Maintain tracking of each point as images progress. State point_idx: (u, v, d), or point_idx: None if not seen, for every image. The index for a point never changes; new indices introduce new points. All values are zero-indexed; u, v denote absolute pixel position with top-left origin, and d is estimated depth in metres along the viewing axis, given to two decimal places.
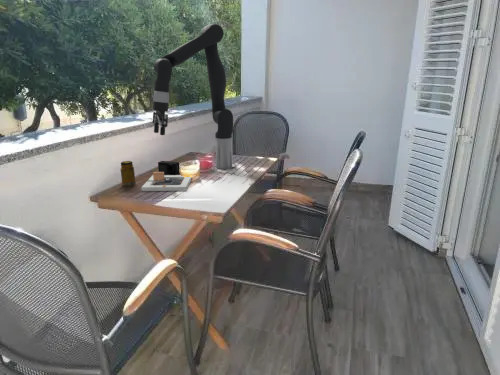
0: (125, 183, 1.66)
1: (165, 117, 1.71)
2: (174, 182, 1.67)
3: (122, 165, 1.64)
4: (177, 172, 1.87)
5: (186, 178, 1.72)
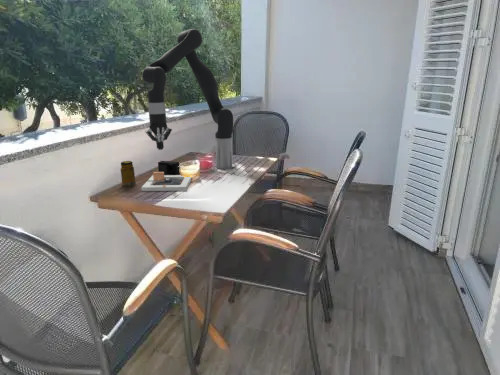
0: (125, 183, 1.66)
1: None
2: (174, 182, 1.67)
3: (122, 165, 1.64)
4: (177, 172, 1.87)
5: (186, 178, 1.72)
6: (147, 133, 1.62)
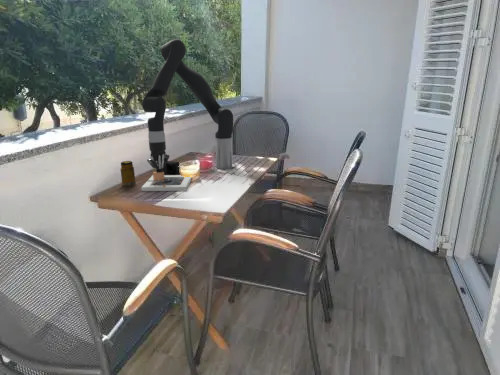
0: (125, 183, 1.66)
1: None
2: (174, 182, 1.67)
3: (122, 165, 1.64)
4: (177, 172, 1.87)
5: (186, 178, 1.72)
6: (150, 161, 1.63)
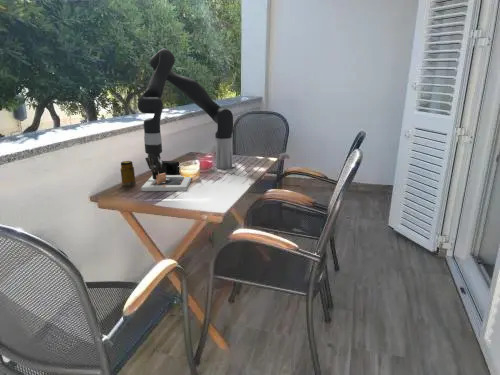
0: (125, 183, 1.66)
1: None
2: (176, 180, 1.70)
3: (122, 165, 1.64)
4: (177, 172, 1.88)
5: (186, 178, 1.72)
6: (162, 164, 1.59)
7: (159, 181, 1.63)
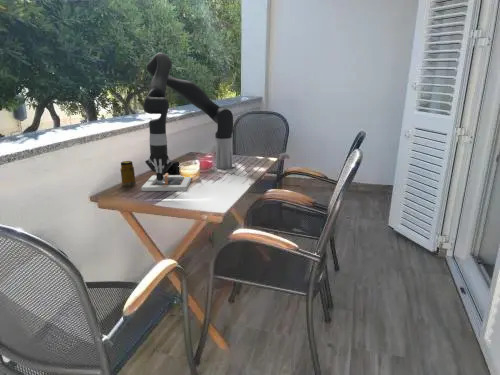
0: (125, 183, 1.66)
1: None
2: (173, 179, 1.72)
3: (122, 165, 1.64)
4: (177, 172, 1.88)
5: (186, 178, 1.72)
6: (172, 163, 1.60)
7: (167, 181, 1.62)
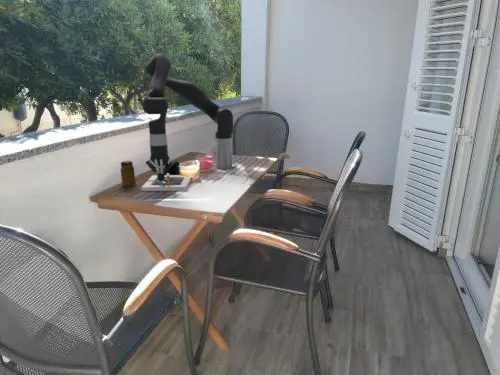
0: (125, 183, 1.66)
1: None
2: (172, 179, 1.72)
3: (122, 165, 1.64)
4: (177, 171, 1.88)
5: (186, 178, 1.72)
6: None
7: (169, 181, 1.63)
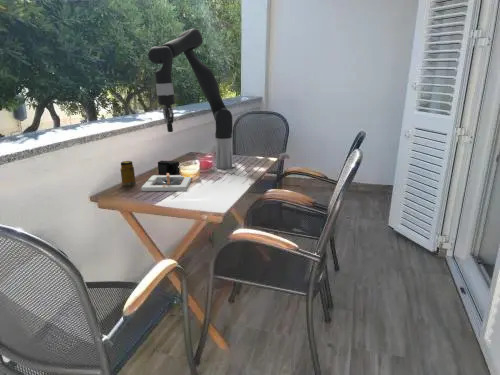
0: (125, 183, 1.66)
1: None
2: (172, 179, 1.72)
3: (122, 165, 1.64)
4: (177, 171, 1.88)
5: (186, 178, 1.72)
6: (172, 115, 1.58)
7: (169, 181, 1.63)
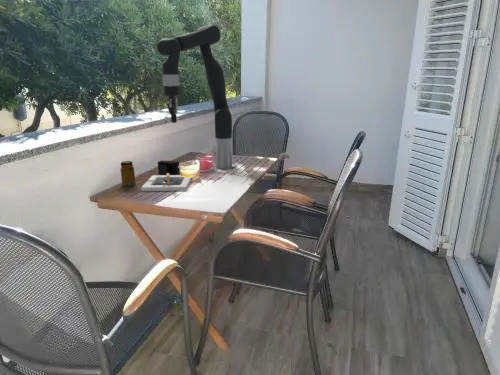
0: (125, 183, 1.66)
1: None
2: (172, 179, 1.72)
3: (122, 165, 1.64)
4: (177, 171, 1.88)
5: (186, 178, 1.72)
6: (171, 105, 1.61)
7: (169, 181, 1.63)
